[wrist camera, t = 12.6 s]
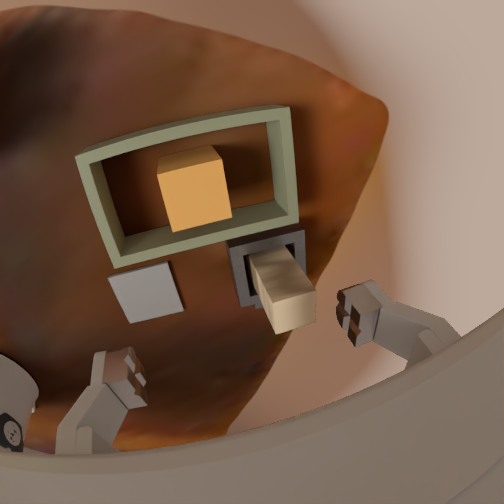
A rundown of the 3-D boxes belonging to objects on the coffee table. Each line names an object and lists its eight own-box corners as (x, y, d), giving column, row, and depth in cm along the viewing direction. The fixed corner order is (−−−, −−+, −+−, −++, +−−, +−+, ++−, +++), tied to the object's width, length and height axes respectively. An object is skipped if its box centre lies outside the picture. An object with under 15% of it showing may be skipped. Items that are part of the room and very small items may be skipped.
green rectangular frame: (119, 247, 30) (114, 268, 26) (86, 147, 24) (74, 156, 20) (284, 206, 32) (299, 222, 29) (274, 104, 26) (289, 107, 23)
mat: (130, 321, 35) (129, 323, 34) (108, 276, 31) (107, 278, 31) (183, 308, 36) (183, 310, 35) (167, 260, 32) (167, 262, 32)
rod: (248, 274, 36) (275, 334, 27) (243, 245, 34) (272, 303, 25) (281, 265, 36) (315, 321, 28) (278, 236, 34) (316, 290, 26)
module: (171, 205, 29) (172, 232, 24) (159, 157, 26) (156, 174, 21) (220, 193, 30) (232, 217, 25) (211, 144, 27) (221, 159, 22)
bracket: (238, 309, 38) (244, 325, 36) (223, 234, 32) (229, 248, 30) (297, 292, 39) (306, 307, 37) (293, 217, 33) (304, 229, 31)
